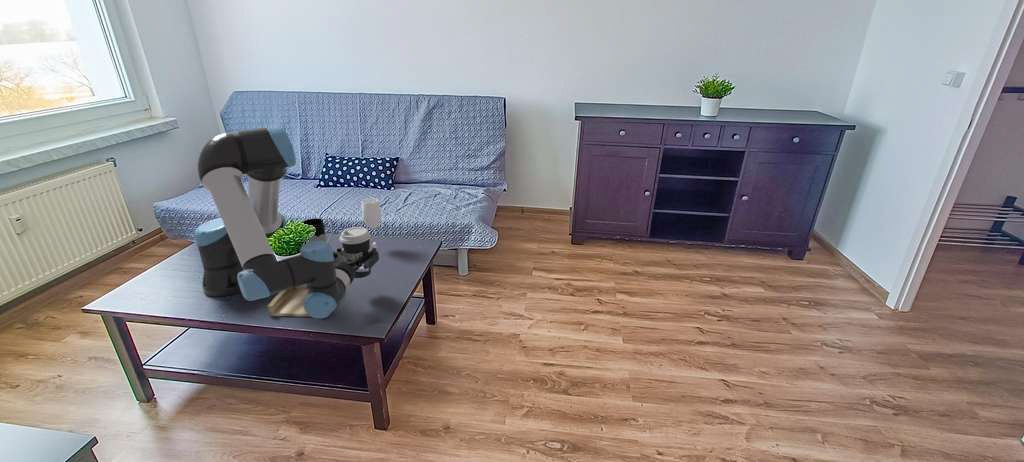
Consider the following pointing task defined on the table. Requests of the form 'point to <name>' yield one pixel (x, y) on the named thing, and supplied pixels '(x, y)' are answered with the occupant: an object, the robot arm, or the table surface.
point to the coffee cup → (355, 245)
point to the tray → (289, 302)
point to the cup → (371, 212)
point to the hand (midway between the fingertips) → (362, 245)
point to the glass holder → (319, 229)
